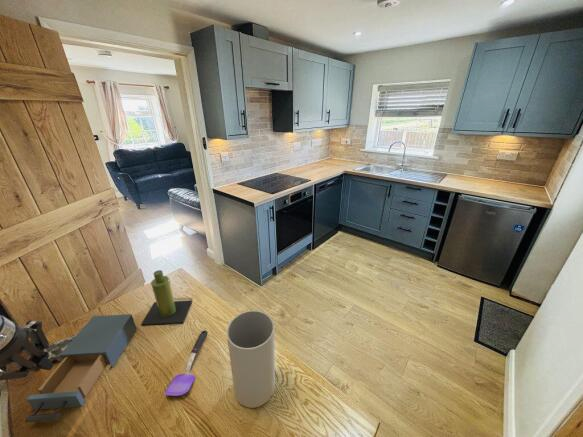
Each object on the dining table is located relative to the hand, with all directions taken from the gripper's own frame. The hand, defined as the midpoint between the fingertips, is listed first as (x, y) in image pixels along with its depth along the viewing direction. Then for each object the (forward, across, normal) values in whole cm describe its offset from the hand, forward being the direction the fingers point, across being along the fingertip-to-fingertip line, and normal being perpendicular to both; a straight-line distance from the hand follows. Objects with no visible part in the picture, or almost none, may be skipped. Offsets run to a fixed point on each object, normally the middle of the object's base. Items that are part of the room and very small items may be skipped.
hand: (46, 366), depth 64 cm
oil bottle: (+21, +26, -18) cm, 38 cm away
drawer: (+13, -3, -4) cm, 14 cm away
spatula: (+10, +8, -35) cm, 38 cm away
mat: (+22, +26, -18) cm, 39 cm away
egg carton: (+22, +7, +9) cm, 24 cm away
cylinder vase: (+2, +2, -57) cm, 57 cm away
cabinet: (+19, +10, -4) cm, 22 cm away
